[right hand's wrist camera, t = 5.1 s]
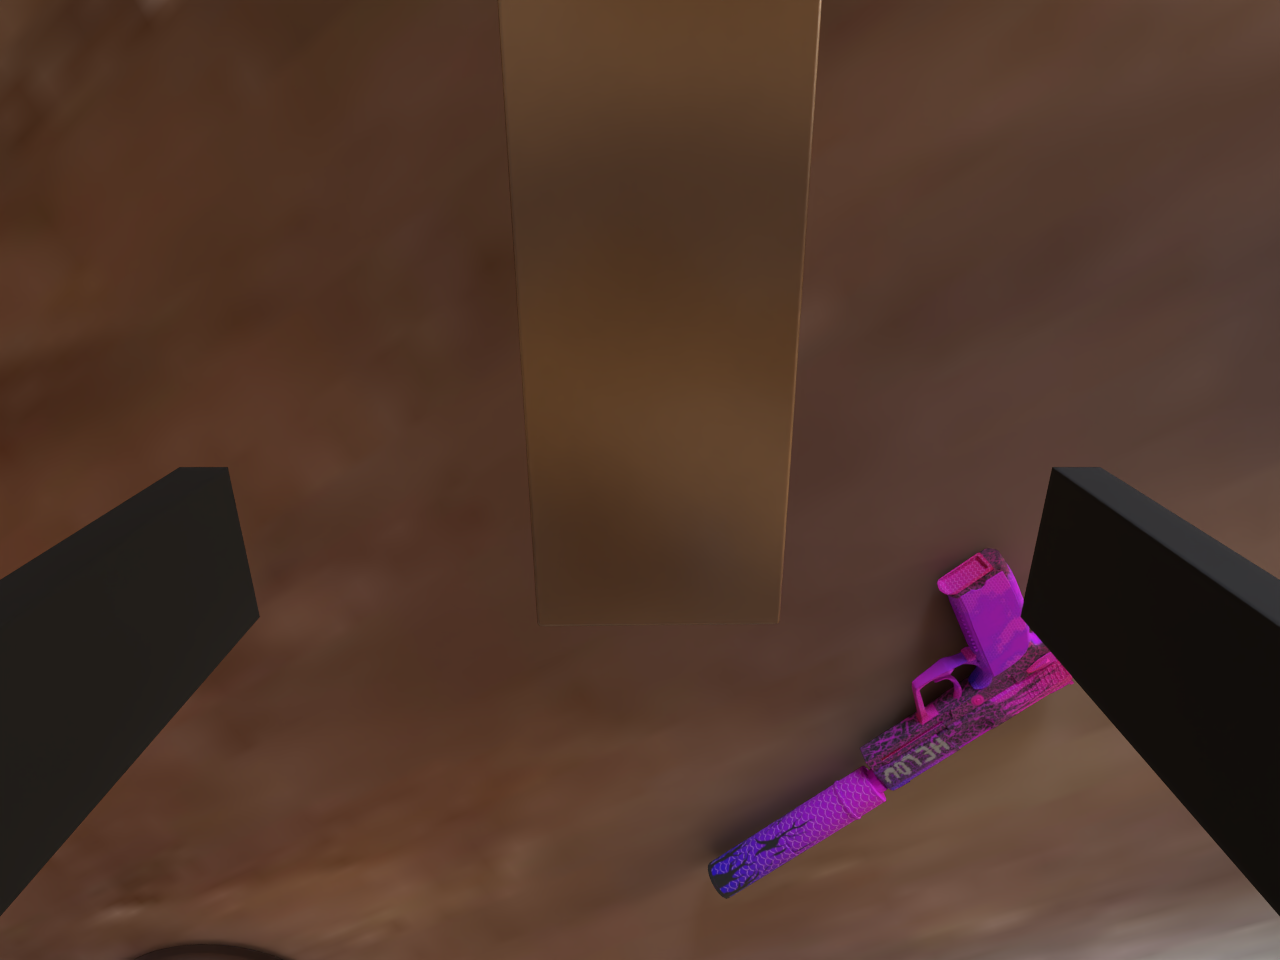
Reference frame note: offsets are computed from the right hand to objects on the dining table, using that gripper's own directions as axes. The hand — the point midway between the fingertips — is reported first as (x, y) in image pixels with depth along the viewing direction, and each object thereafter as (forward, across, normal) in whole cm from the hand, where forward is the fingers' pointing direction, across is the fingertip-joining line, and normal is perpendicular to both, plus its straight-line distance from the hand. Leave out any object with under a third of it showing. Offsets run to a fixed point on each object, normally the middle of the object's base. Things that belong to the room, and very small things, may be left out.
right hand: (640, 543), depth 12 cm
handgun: (+19, -11, +19) cm, 29 cm away
